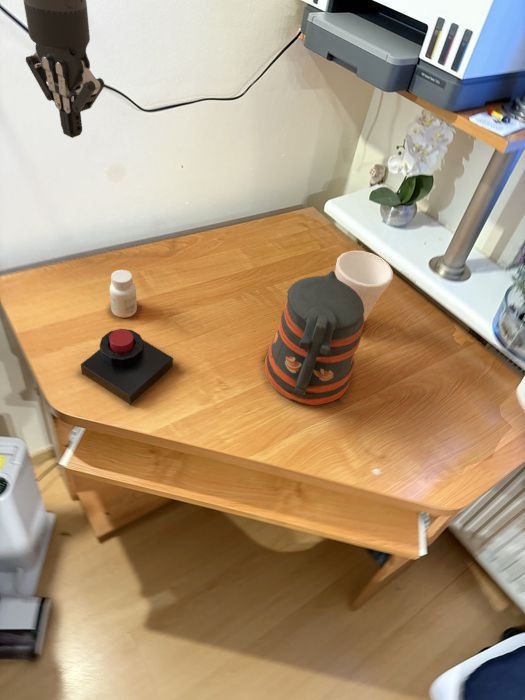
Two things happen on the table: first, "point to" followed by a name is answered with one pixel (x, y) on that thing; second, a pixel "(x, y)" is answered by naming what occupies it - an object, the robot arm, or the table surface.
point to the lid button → (121, 341)
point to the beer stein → (316, 340)
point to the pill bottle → (123, 294)
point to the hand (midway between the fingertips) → (72, 134)
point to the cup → (364, 276)
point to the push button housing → (127, 368)
